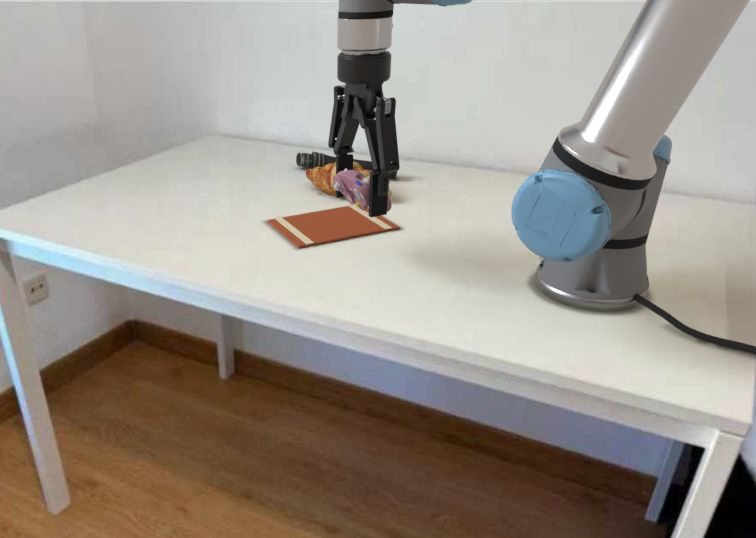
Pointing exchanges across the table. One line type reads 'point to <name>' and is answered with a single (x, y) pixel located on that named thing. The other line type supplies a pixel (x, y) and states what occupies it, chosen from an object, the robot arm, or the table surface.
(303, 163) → the twine-wrapped black handle
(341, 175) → the video game controller
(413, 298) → the table surface
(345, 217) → the tea towel
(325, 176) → the croissant
